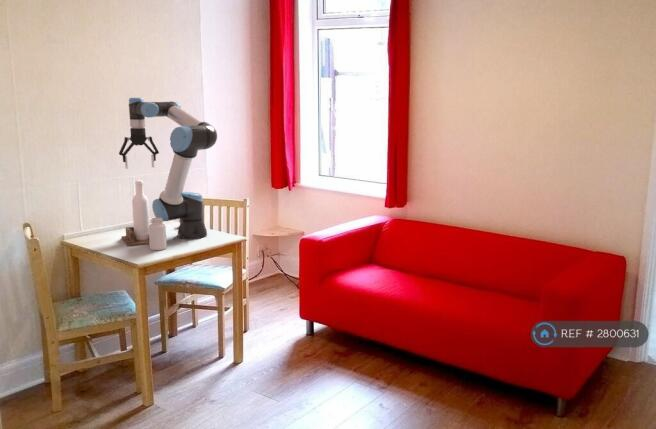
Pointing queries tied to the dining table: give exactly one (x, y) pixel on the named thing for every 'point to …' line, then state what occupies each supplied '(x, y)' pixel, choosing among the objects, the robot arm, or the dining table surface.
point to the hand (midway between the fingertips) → (139, 167)
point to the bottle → (140, 213)
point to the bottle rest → (132, 238)
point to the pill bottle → (157, 234)
